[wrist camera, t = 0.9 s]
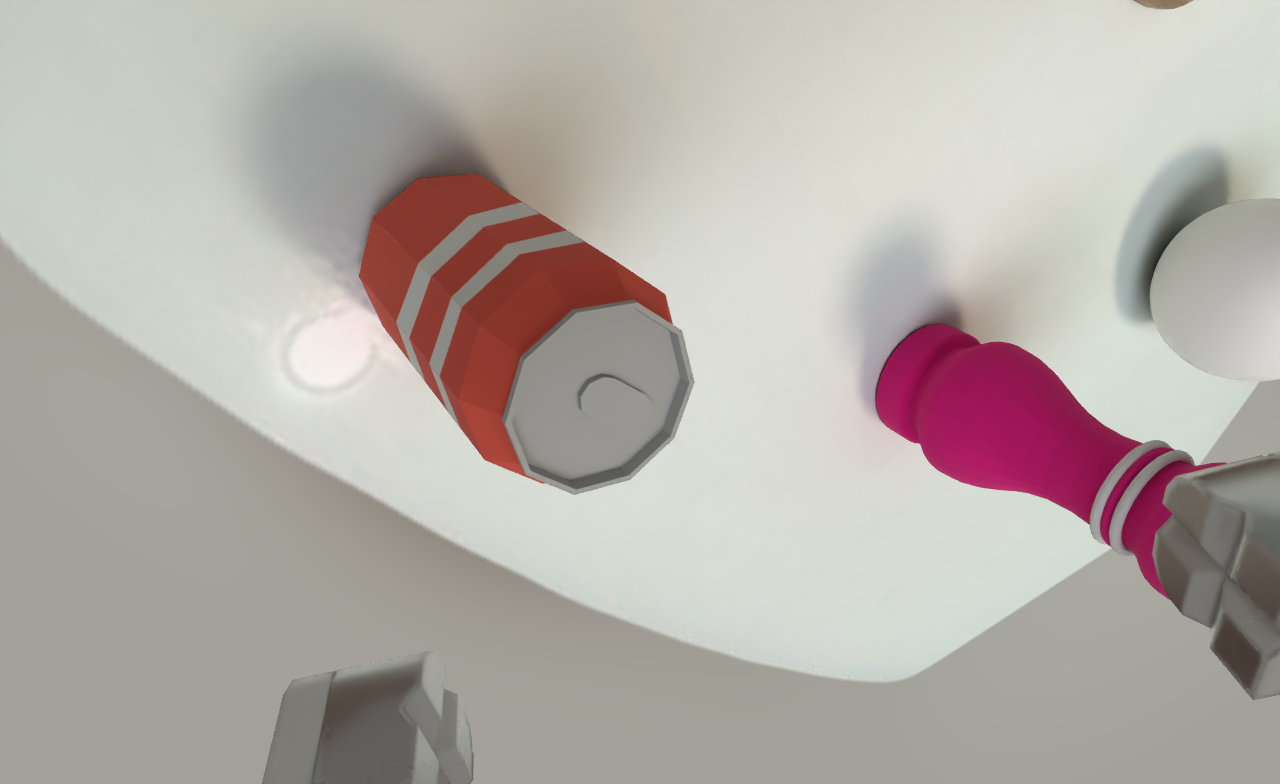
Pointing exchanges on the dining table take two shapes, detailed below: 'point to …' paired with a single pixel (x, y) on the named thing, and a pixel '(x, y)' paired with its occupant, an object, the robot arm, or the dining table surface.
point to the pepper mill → (1027, 436)
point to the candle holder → (1163, 3)
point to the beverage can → (527, 333)
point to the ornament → (1223, 291)
